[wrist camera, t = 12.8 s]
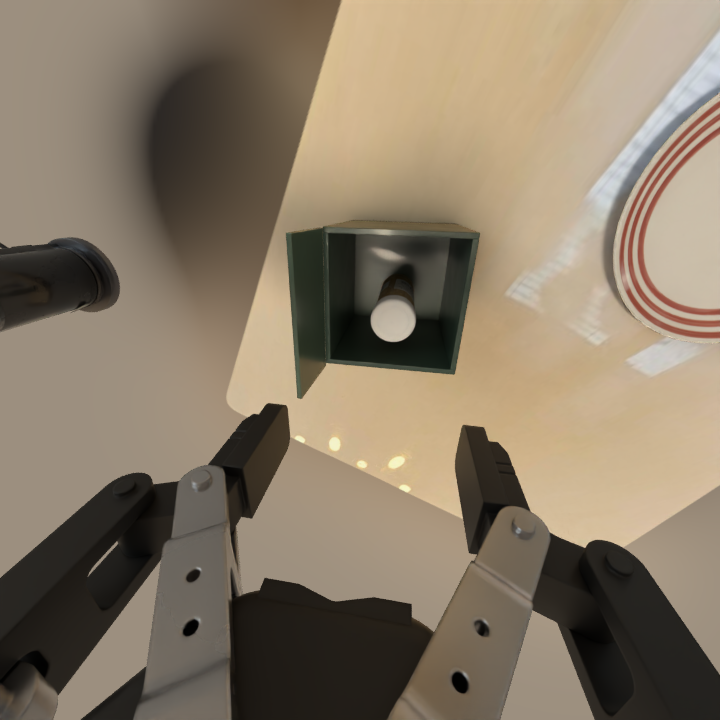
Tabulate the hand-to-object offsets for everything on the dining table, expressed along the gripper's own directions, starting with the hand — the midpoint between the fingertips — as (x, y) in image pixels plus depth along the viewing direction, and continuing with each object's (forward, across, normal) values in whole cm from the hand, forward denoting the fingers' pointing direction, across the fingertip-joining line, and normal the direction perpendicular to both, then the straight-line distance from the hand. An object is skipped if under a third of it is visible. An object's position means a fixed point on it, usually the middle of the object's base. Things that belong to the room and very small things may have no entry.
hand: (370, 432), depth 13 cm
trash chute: (+34, 0, 0) cm, 34 cm away
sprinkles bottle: (+34, 0, +2) cm, 34 cm away
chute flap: (+14, +7, 0) cm, 16 cm away
